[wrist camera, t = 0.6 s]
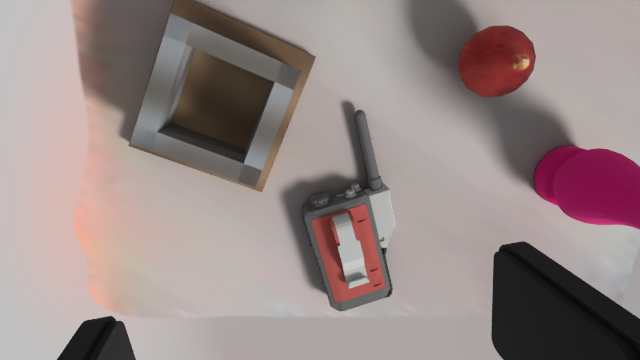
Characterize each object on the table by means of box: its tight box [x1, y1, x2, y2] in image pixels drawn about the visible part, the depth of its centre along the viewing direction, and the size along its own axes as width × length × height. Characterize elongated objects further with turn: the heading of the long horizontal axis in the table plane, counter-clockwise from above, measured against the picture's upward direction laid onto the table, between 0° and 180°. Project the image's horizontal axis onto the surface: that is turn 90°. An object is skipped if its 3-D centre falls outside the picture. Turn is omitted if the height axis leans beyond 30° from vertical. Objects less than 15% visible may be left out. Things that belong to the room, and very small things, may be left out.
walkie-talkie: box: [302, 110, 396, 311], centre depth 37 cm, size 9×4×20 cm
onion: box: [458, 26, 536, 97], centre depth 32 cm, size 6×6×8 cm
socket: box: [129, 0, 316, 192], centre depth 31 cm, size 13×12×6 cm
